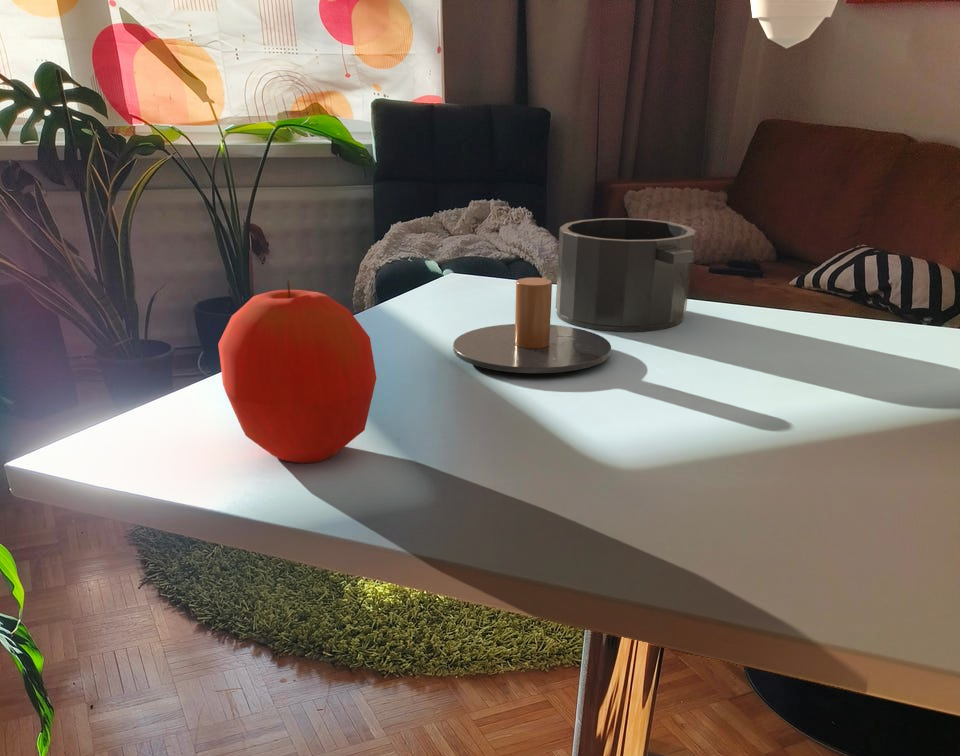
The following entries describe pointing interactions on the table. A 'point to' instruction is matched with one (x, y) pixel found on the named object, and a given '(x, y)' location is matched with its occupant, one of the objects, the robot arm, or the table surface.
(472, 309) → the table surface
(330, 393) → the apple
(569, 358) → the lid
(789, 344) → the table surface
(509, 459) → the table surface
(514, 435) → the table surface
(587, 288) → the pot
